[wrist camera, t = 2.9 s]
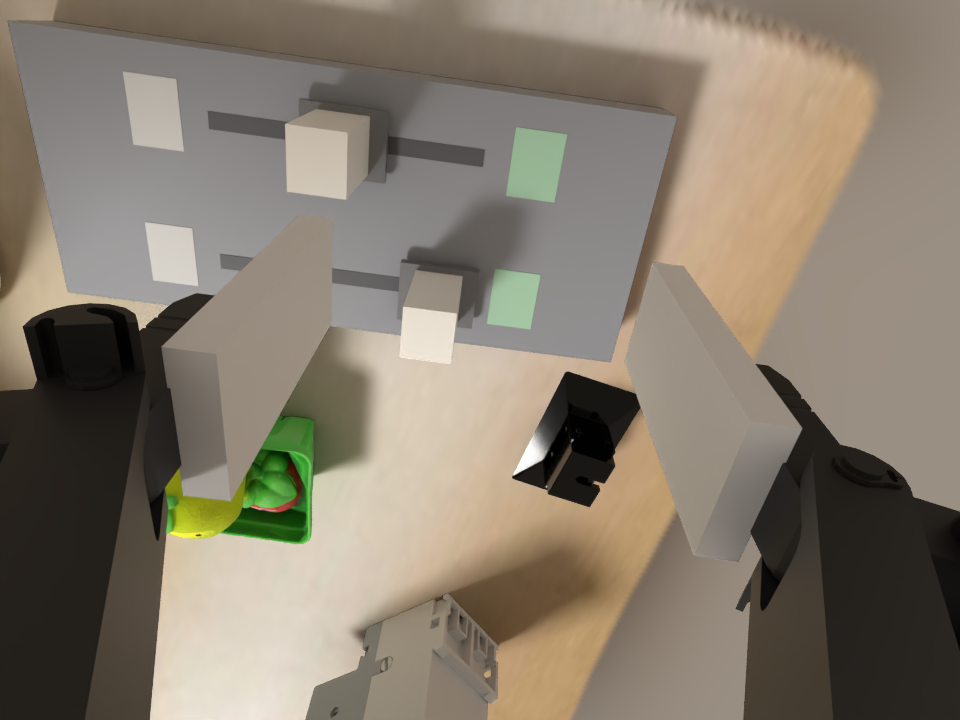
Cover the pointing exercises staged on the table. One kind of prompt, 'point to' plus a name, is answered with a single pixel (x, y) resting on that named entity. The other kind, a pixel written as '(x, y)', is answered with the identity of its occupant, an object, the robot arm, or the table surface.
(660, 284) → the robot arm
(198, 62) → the gray slotted slider panel
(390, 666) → the circuit breaker
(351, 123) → the block
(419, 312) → the breaker handle
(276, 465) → the fruit basket
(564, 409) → the black stepped block
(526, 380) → the table surface
